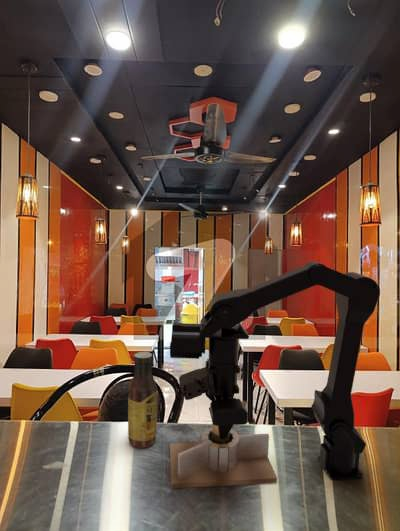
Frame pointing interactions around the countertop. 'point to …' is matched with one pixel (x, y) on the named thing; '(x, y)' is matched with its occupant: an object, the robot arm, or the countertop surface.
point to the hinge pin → (216, 436)
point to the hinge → (222, 453)
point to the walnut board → (241, 475)
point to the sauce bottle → (142, 403)
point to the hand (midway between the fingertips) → (221, 432)
